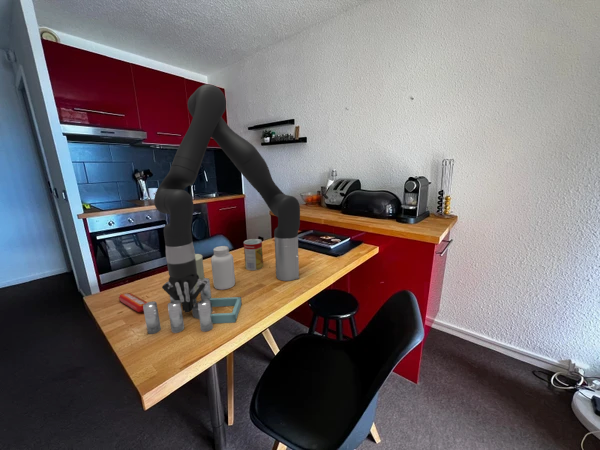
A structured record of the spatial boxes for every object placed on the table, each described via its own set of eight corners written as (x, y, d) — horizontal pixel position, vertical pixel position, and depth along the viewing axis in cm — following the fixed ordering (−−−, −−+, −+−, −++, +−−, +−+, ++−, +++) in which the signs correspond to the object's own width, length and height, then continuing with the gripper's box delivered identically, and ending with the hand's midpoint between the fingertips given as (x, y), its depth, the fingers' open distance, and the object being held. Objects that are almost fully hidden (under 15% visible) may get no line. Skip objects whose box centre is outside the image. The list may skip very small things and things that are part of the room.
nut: (213, 308, 80) (212, 299, 79) (208, 319, 74) (207, 309, 73) (197, 309, 79) (196, 300, 79) (191, 320, 74) (190, 310, 73)
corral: (241, 303, 82) (241, 297, 81) (235, 322, 72) (234, 314, 72) (210, 305, 82) (210, 298, 81) (200, 323, 72) (199, 316, 71)
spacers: (226, 298, 85) (224, 277, 83) (210, 331, 68) (207, 305, 67) (173, 301, 85) (170, 279, 83) (145, 334, 68) (140, 307, 66)
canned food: (264, 263, 116) (263, 239, 113) (260, 270, 108) (259, 244, 105) (248, 263, 116) (246, 238, 114) (243, 270, 109) (241, 244, 106)
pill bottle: (215, 292, 90) (211, 253, 87) (212, 283, 97) (208, 246, 93) (237, 287, 94) (234, 249, 90) (232, 278, 100) (229, 243, 97)
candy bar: (152, 310, 80) (151, 302, 79) (140, 316, 77) (139, 307, 76) (129, 297, 88) (127, 289, 88) (117, 301, 85) (116, 293, 85)
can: (184, 281, 99) (181, 253, 96) (208, 280, 100) (205, 252, 97) (175, 293, 90) (170, 262, 87) (201, 291, 91) (198, 260, 88)
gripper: (208, 253, 76) (213, 303, 80) (164, 254, 76) (172, 305, 80) (199, 262, 69) (206, 317, 73) (151, 263, 69) (160, 319, 73)
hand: (188, 311), depth 76 cm, fingers closed
